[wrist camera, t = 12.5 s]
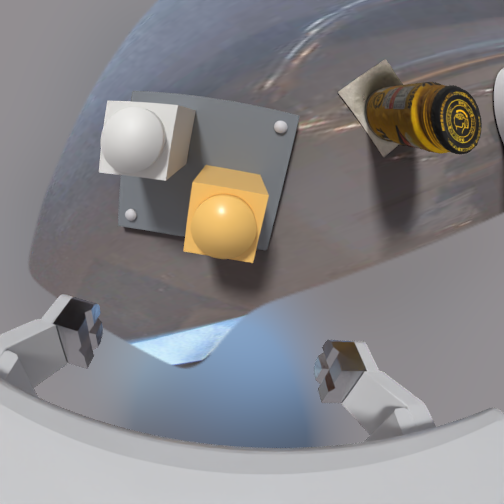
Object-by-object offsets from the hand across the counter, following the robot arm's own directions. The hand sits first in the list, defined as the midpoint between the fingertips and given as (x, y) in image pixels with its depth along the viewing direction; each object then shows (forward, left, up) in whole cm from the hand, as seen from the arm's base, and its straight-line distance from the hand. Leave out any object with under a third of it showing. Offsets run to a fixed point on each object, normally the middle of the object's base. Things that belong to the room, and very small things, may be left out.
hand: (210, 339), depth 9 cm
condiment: (-14, -13, -21) cm, 28 cm away
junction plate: (+3, -2, -21) cm, 21 cm away
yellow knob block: (0, 0, -20) cm, 20 cm away
